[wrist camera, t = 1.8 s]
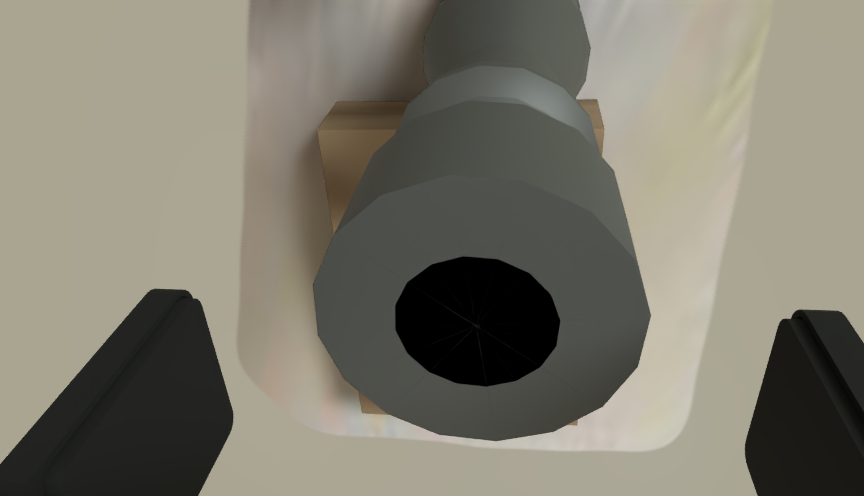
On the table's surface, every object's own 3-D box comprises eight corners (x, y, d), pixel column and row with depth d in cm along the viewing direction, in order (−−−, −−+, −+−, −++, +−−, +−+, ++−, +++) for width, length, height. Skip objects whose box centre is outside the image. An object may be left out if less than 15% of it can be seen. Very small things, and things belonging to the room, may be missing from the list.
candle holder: (487, 86, 34) (422, 483, 13) (424, -21, 32) (224, 261, 11) (597, 24, 32) (724, 389, 11) (538, -97, 29) (559, 80, 9)
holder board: (336, 102, 36) (317, 129, 32) (597, 99, 34) (604, 128, 31) (374, 371, 46) (362, 413, 43) (573, 380, 45) (577, 425, 41)
